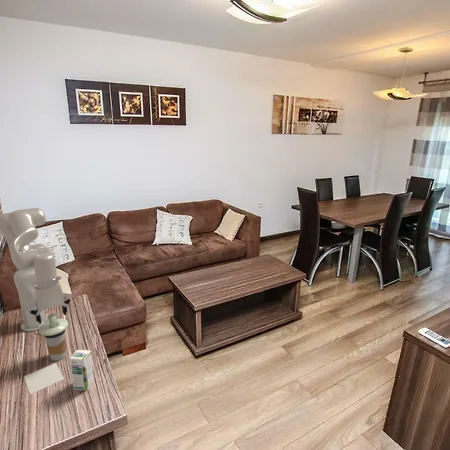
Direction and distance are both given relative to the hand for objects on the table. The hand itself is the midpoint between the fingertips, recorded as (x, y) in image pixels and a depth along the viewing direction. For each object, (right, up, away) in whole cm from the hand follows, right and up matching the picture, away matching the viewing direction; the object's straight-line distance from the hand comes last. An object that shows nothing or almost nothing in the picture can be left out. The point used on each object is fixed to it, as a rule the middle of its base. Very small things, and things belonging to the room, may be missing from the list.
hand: (52, 318), depth 131 cm
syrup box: (+18, -24, -10) cm, 32 cm away
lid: (0, -5, +1) cm, 5 cm away
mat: (+1, -22, -7) cm, 24 cm away
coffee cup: (0, -19, +5) cm, 20 cm away
